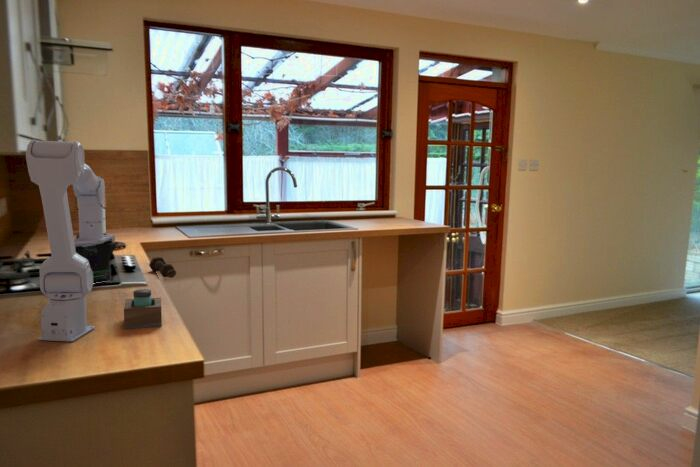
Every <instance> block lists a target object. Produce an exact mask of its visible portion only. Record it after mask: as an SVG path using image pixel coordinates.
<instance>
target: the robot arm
mask: <svg viewBox="0 0 700 467" xmlns="http://www.w3.org/2000/svg"><path fill="white" fill-rule="evenodd" d="M85 156H86V155H85V149H84V147H83V145H82V143H80V142H79V141H77V140H76V141H62V140H61V141H60V140H58V141H57V140H55V141H54V140H37V139H31V140H30V141H29V142H28V144H27V147H26V152H25V160H26V165H27V172H28V176H29V178H30V182H32V183H34V184H35V185H37V186H38V188H39V193H40V197H41V204H42V209H43V210H42V211H43V214H44V221H45V226H46V232H47V236H48V237H47V239H48V243H49V249H50V255H51V256H50V257H47V259H45V260H44V261H43V262H42V264H41V265H40V267H39V270H38V271H39V289H40V291H41V292H42V294H43V295H44V296H46V299H49V300H48V303H47V304H46V305H44V306H43V307H42V309H41V312H40V321H41V322H40V323H41V336H39V337H38V339H37V340H38V341H53V342H72V343H73V342H74V341H76V340H78V339H79V338H81V337H83V336H85V335H86V334H88V333H90V332H91V331H93V329H94V330H95V328H96V327H95V325H87V324H88V322H87V302H86V299H87V298H86V296H87V295H89V293H90V292H92V289H93V286H94V284H93V272H92V270H91V268H90V264H89V261H88V260H87V256H88V253H89V250H85V249H84V248H83V247H86V246H91V245H95V247H96V249H97V253H98V258H99V267H100V269H104V270H107V269H108V265H109V261H111V258H112V255H113V253H114V250H115V249H116V247H117V243H116V235H115V234H109V233H107V234H108V235H103V234H104V233H103V209H104V207H103V205H104V204H105V194H106V183H105V180H104V178H101V176H97V175H96V174H95V172H94V171H93V170H92V169H91V167H90V166H89V165H88V164H86V162H85V160H86V159H85V158H86V157H85ZM71 185H72V189H73V192H74V193H73V194H74V196H75V198H77V205H78V206H77V207H78V208H77V209H78V210H77V211H78V229H79V230H78V232H79V234H78V235H79V236H80V238H78V239H76V238H74V231H73V225H72V216H71V211H70V204H69V198H68V191H67V189H68V188H69V186H71Z"/></svg>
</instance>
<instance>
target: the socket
mask: <svg viewBox="0 0 700 467" xmlns="http://www.w3.org/2000/svg"><path fill="white" fill-rule="evenodd" d="M162 319H163V318H162V297H151V306H136V307H134V298H132V299H131V298H130V299H129V298H128V299H125V302H124V306H123V320H124V321H123V324H124V327H123V328H124V330H130V329H131V330H132V329H144V328H145V329H146V328H157V327H162V326H163V324H162V321H163V320H162Z"/></svg>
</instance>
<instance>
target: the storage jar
mask: <svg viewBox="0 0 700 467" xmlns="http://www.w3.org/2000/svg"><path fill="white" fill-rule="evenodd" d="M108 234H109V233H103V235H108ZM78 238H80V236H79V234H78V235H76V237H75V239H78ZM83 248H84V249H85V250H89V253H88V256H87V260H88V261H89V264H90V268H91V270H92V272H93V283H96V282H102V281H108V280H111V281H112V278H111V276H112V275H111V273H112V268H111V262H110V261H111V260H110V261H109V265H108V269H107V270H104V269H100V267H99V258H98V253H97V249H96V247H95V245H91V246H86V247H83Z"/></svg>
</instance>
